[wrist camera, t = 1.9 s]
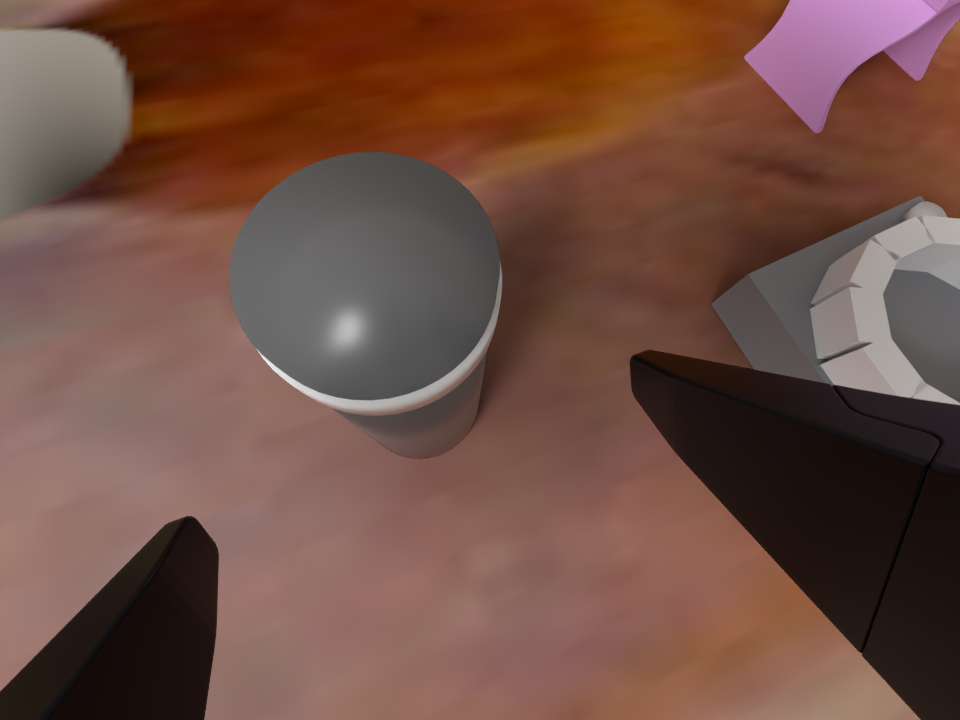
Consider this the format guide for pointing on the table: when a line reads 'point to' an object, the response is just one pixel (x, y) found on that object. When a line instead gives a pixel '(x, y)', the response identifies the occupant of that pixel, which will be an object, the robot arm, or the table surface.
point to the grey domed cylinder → (374, 295)
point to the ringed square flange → (860, 307)
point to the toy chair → (845, 46)
